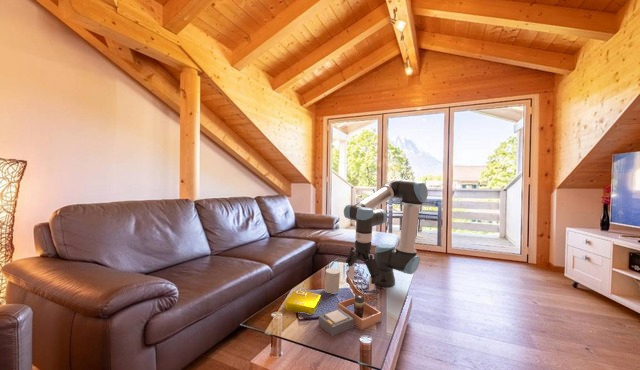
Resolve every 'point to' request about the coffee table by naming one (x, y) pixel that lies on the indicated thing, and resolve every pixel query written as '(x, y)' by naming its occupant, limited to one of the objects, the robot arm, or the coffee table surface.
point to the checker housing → (335, 328)
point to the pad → (336, 317)
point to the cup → (332, 280)
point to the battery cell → (359, 306)
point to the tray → (369, 314)
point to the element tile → (303, 302)
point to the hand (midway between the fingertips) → (360, 284)
